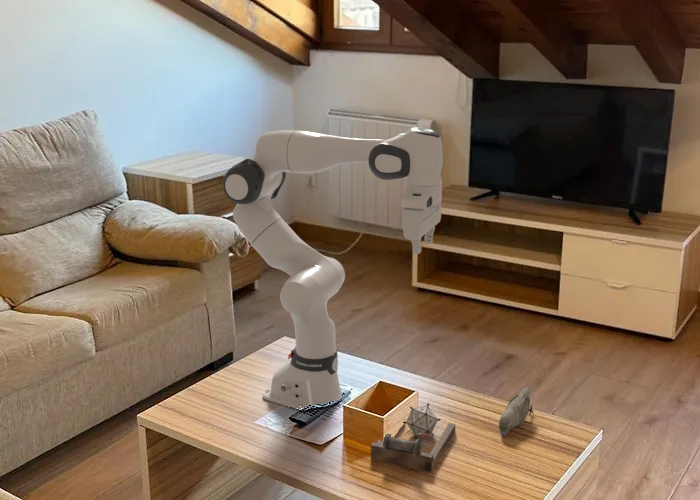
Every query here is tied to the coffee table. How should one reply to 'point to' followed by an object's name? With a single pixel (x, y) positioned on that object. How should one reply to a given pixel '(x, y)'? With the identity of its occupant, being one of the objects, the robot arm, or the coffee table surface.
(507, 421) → the decorative bird
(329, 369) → the robot arm
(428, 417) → the game die
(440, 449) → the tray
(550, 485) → the coffee table surface
